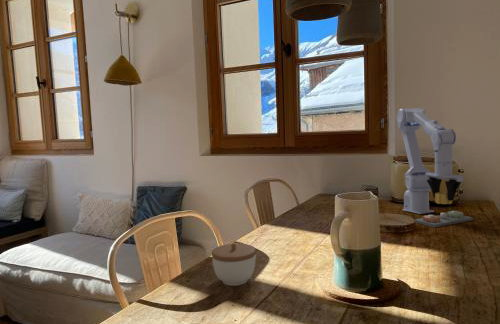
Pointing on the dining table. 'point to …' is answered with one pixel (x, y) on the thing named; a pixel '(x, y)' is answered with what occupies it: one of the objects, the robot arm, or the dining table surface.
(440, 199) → the loose gear
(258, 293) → the dining table surface
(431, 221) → the gear board
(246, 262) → the lidded jar
